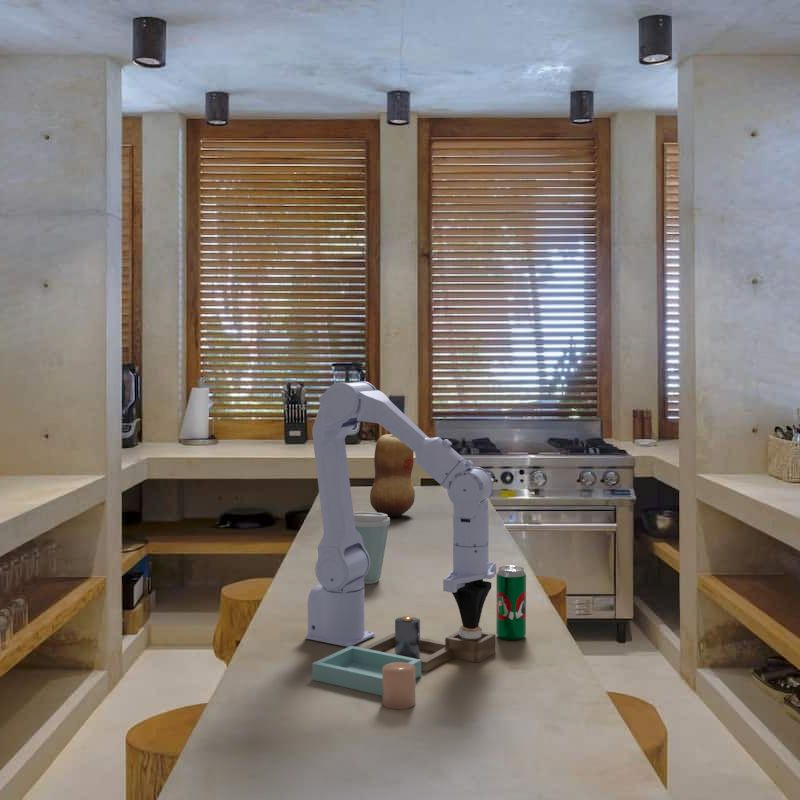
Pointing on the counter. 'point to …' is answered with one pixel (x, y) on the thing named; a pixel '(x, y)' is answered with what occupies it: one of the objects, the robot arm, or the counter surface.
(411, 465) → the butternut squash
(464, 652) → the square wooden box
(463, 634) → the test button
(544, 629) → the counter surface
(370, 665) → the teal tray
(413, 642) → the cell
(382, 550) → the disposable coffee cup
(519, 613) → the soda can
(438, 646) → the cradle
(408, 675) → the peach glossy rounded part
